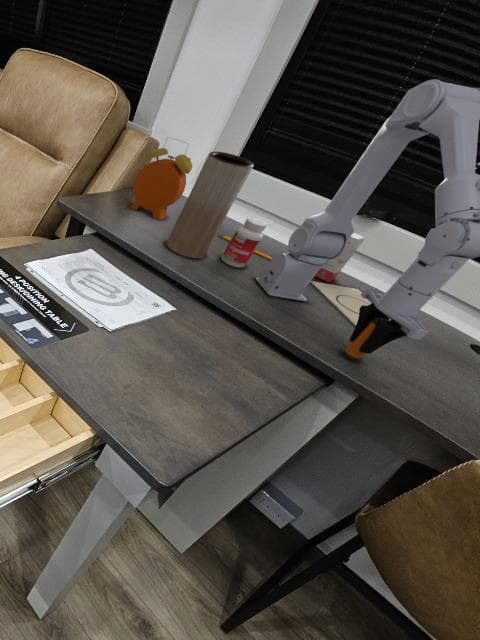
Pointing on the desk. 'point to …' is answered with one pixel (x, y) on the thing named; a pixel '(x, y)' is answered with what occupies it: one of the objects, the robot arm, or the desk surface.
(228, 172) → the planter
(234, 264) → the pill bottle
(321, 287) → the paper
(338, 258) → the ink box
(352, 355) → the marker
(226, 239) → the pencil
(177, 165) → the alarm clock
